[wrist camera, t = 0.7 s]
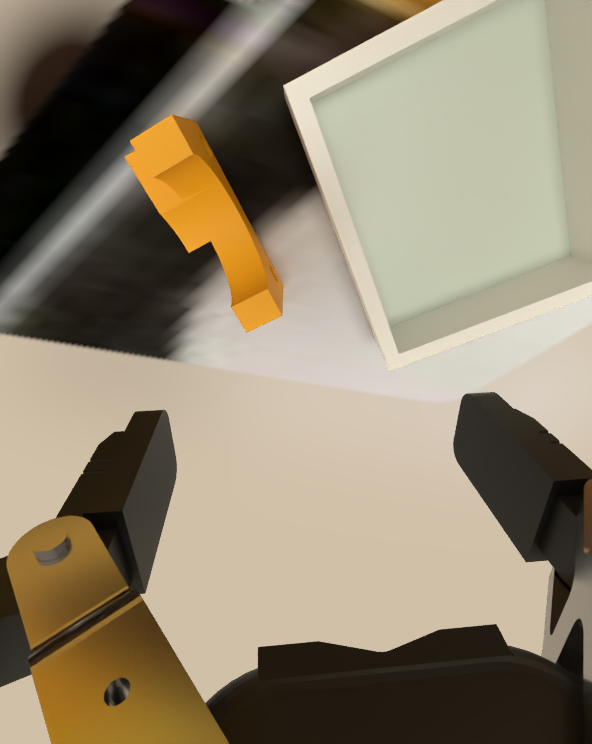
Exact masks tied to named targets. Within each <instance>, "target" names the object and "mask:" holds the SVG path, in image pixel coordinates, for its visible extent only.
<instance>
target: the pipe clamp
mask: <svg viewBox="0 0 592 744" xmlns="http://www.w3.org/2000/svg"><path fill="white" fill-rule="evenodd" d="M130 142H131V144H132V145H133V147H134V149H135V151H133V152H132V153H130V154H128V155H127V156H125V159H126V160H127V162H128V164H129V165H130V167H131V168H132V170H133V172H134V173H135V175H136V176H137V178H138V180H139V181H140V183H141V184H142V186H143V188H144V189H145V191H146V192H147V194H148V196H149V197H150V199H151V200H152V202H153V204H154V205H155V207H156V208H157V210H158V212H159V213H160V214H161V215H162V217H163V218H164V219H165V220H166V221H167V222H168V224H169V225H170V226H171V227H172V229H173V230H174V231H175V233H176V234H177V235H178V237H179V238H180V240H181V241H182V243H183V244H184V246H185V248H186V249H187V251H188V253H190V252H191V251H193V250H195V249H197V248H199V247H201V246H202V245H204V244H206V243H208V242H210V241H211V242H212V244H213V246H214V248H215V250H216V252H217V254H218V256H219V258H220V261H221V263H222V265H223V268H224V270H225V273H226V276H227V278H228V282H229V285H230V289H231V295H232V305H231V308H232V309H233V311H234V313H235V314H236V316H237V318H238V319H239V321H240V323H241V324H242V326H243V328H244V329H245V331H246V332H249V331H251V330H253V329H255V328H257V327H259V326H261V325H264V324H266V323H268V322H270V321H272V320H274V319H276V318H278V317H280V316H282V307H283V285H282V283H281V281H280V279H279V277H278V275H277V273H276V271H275V269H274V267H273V266H272V264H271V262H270V260H269V258H268V256H267V254H266V252H265V250H264V249H263V247H262V245H261V243H260V241H259V239H258V237H257V235H256V233H255V232H254V230H253V228H252V226H251V224H250V222H249V220H248V218H247V216H246V215H245V213H244V211H243V209H242V207H241V205H240V203H239V201H238V199H237V197H236V196H235V194H234V192H233V190H232V188H231V186H230V184H229V182H228V180H227V179H226V177H225V175H224V173H223V171H222V169H221V167H220V165H219V163H218V162H217V160H216V158H215V156H214V154H213V152H212V150H211V148H210V146H209V145H208V143H207V141H206V139H205V137H204V135H203V133H202V131H201V129H200V127H199V126H198V124H197V122H196V121H193V120H189V119H186V118H182V117H179V116H175V115H170V116H168V117H167V118H165V119H164V120H162V121H161V122H159V123H157V124H156V125H154V126H153V127H151V128H149V129H148V130H146V131H145V132H143V133H142V134H140V135H138V136H137V137H135V138H134V139H132V140H131V141H130Z"/></svg>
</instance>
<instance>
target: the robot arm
mask: <svg viewBox="0 0 592 744" xmlns="http://www.w3.org/2000/svg"><path fill="white" fill-rule="evenodd" d="M453 445H454V454H455V457H456V460H457V462H458V464H459V465H460V467H461V468H462V470H463V471H464V472H465V474H466V475H467V477H468V478H469V480H470V481H471V483H472V484H473V486H474V487H475V489H476V490H477V491H478V493H479V494H480V496H481V497H482V499H483V500H484V502H485V503H486V505H487V506H488V507H489V509H490V510H491V512H492V513H493V515H494V516H495V517H496V519H497V520H498V522H499V523H500V525H501V526H502V528H503V529H504V531H505V532H506V534H507V535H508V536H509V538H510V539H511V541H512V542H513V544H514V545H515V547H516V548H517V550H518V551H519V552H520V554H521V555H522V557H523V558H524V560H525V561H526V562H534V561H546V560H548V561H549V562H550V563H551V565H552V566H553V568H552V571H551V573H550V576H549V584H548V595H547V606H546V618H545V630H544V641H543V650H542V655H541V656H539V655H536V654H534V653H531V652H529V651H526V650H522V649H519V648H515V647H512V646H507V644H506V642H505V640H504V638H503V636H502V634H501V632H500V631H499V628H498V627H497V625H496V624H494V625H483V626H473V627H463V628H452V629H442V630H438V631H435V632H433V633H430V634H428V635H426V636H423V637H421V638H419V639H416V640H414V641H412V642H409V643H407V644H404V645H402V646H400V647H397V648H395V649H393V650H390V651H387V652H376V651H370V650H364V649H359V648H353V647H347V646H341V645H336V644H330V643H324V642H319V641H318V642H307V643H297V644H286V645H276V646H265V647H258V668H257V669H255V670H252V671H250V672H248V673H245V674H244V675H242V676H240V677H238V678H237V679H235V680H233V681H231V682H230V683H229V684H228V685H226V686H225V687H223V688H222V689H220V690H219V691H218V692H217V693H216V694H215V695H213V696H212V697H211V698H210V699H209V700H208V701H207V702H206V703H205V702H204V701H203V699H202V697H201V696H200V694H199V692H198V691H197V689H196V687H195V685H194V684H193V682H192V680H191V679H190V677H189V675H188V674H187V672H186V670H185V669H184V667H183V665H182V664H181V662H180V660H179V659H178V657H177V656H176V654H175V652H174V650H173V649H172V647H171V645H170V644H169V642H168V640H167V638H166V637H165V635H164V634H163V632H162V630H161V628H160V627H159V625H158V624H157V622H156V620H155V618H154V617H153V615H152V613H151V612H150V610H149V608H148V607H147V605H146V603H145V602H144V600H143V598H142V597H141V595H140V594H144V593H145V592H146V589H147V585H148V581H149V578H150V574H151V570H152V566H153V563H154V559H155V555H156V552H157V547H158V544H159V540H160V537H161V533H162V529H163V526H164V522H165V518H166V514H167V511H168V507H169V503H170V499H171V496H172V492H173V488H174V484H175V480H176V472H177V463H176V456H175V450H174V444H173V439H172V433H171V428H170V423H169V417H168V414H167V412H166V411H165V410H156V411H138V412H135V413H134V414H133V416H132V418H131V420H130V422H129V424H128V426H127V428H126V430H125V431H121V432H114V433H112V434H111V435H110V436H109V437H108V438H107V439H105V440H104V441H103V442H101V443H100V444H99V445H98V447H97V449H96V450H95V452H94V454H93V455H92V457H91V459H90V462H88V464H87V466H86V467H85V469H84V471H83V474H81V476H80V477H79V479H78V481H77V483H76V484H75V486H74V488H73V489H72V491H71V493H70V494H69V496H68V498H67V500H66V501H65V503H64V505H63V506H62V508H61V510H60V512H59V513H58V515H57V517H56V518H55V519H52V520H49V521H47V522H44V523H42V524H40V525H38V526H36V527H34V528H33V529H31V530H30V531H28V532H27V533H26V534H25V535H23V536H22V537H21V538H20V539H19V540H18V541H17V542H16V544H15V545H14V546H13V547H12V549H11V550H10V552H9V555H8V556H6V557H4V558H0V687H1V686H4V685H7V684H9V683H11V682H14V681H16V680H19V679H21V678H24V677H26V676H29V675H31V674H32V677H33V680H34V684H35V687H36V691H37V694H38V698H39V701H40V705H41V709H42V712H43V716H44V719H45V723H46V726H47V730H48V734H49V737H50V741H51V744H592V470H591V469H590V468H589V467H588V466H587V465H586V464H585V463H584V462H582V461H581V460H580V459H579V458H578V457H577V456H576V455H575V454H573V453H572V452H571V451H570V450H569V449H568V448H566V447H565V446H564V445H563V444H560V443H559V440H558V439H557V438H556V437H554V436H553V435H552V434H551V433H550V434H549V433H548V431H547V429H545V428H544V427H543V426H542V425H541V424H540V423H539V422H538V421H536V420H535V419H534V418H532V417H530V416H528V415H526V414H524V413H522V412H520V411H519V410H517V409H513V408H512V407H511V406H510V405H509V404H508V403H507V402H506V401H504V400H503V399H502V398H501V397H500V396H499V395H498V394H497V393H495V392H489V393H470V394H465V395H464V396H463V398H462V400H461V405H460V410H459V415H458V420H457V426H456V431H455V436H454V443H453Z"/></svg>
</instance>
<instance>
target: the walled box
mask: <svg viewBox="0 0 592 744" xmlns="http://www.w3.org/2000/svg"><path fill="white" fill-rule="evenodd" d="M283 87H284V97H285V100H286V103H287V105H288V108H289V111H290V113H291V116H292V119H293V121H294V124H295V127H296V129H297V132H298V135H299V137H300V140H301V143H302V145H303V148H304V151H305V153H306V156H307V159H308V161H309V164H310V167H311V169H312V172H313V175H314V177H315V180H316V183H317V185H318V188H319V191H320V193H321V196H322V199H323V201H324V204H325V207H326V209H327V212H328V215H329V217H330V220H331V223H332V225H333V228H334V231H335V233H336V236H337V239H338V241H339V244H340V247H341V249H342V252H343V255H344V257H345V260H346V263H347V266H348V268H349V271H350V274H351V276H352V279H353V282H354V284H355V287H356V290H357V292H358V295H359V298H360V300H361V303H362V306H363V308H364V311H365V314H366V316H367V319H368V322H369V324H370V327H371V330H372V332H373V335H374V338H375V340H376V342H377V344H378V347H379V349H380V351H381V353H382V356H383V358H384V360H385V362H386V365H387V367H388V369H389V371H391V370H394V369H396V368H399V367H402V366H404V365H407V364H410V363H412V362H415V361H418V360H420V359H423V358H426V357H429V356H431V355H434V354H437V353H439V352H442V351H445V350H447V349H450V348H453V347H455V346H458V345H461V344H463V343H466V342H469V341H471V340H474V339H477V338H480V337H482V336H485V335H488V334H490V333H493V332H496V331H498V330H501V329H504V328H506V327H509V326H512V325H514V324H517V323H520V322H523V321H525V320H528V319H531V318H533V317H536V316H539V315H541V314H544V313H547V312H549V311H552V310H555V309H557V308H560V307H563V306H565V305H568V304H571V303H574V302H576V301H579V300H582V299H584V298H587V297H590V296H592V0H443V1H441V2H439V3H437V4H435V5H433V6H432V7H430V8H428V9H426V10H424V11H422V12H420V13H418V14H417V15H415V16H413V17H411V18H409V19H407V20H405V21H403V22H402V23H400V24H398V25H396V26H394V27H392V28H390V29H388V30H387V31H385V32H383V33H381V34H379V35H377V36H375V37H373V38H372V39H370V40H368V41H366V42H364V43H362V44H360V45H358V46H357V47H355V48H353V49H351V50H349V51H347V52H345V53H343V54H342V55H340V56H338V57H336V58H334V59H332V60H330V61H329V62H327V63H325V64H323V65H321V66H319V67H317V68H315V69H314V70H312V71H310V72H308V73H306V74H304V75H302V76H300V77H299V78H297V79H295V80H293V81H291V82H289V83H287V84H285V85H284V86H283Z"/></svg>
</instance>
